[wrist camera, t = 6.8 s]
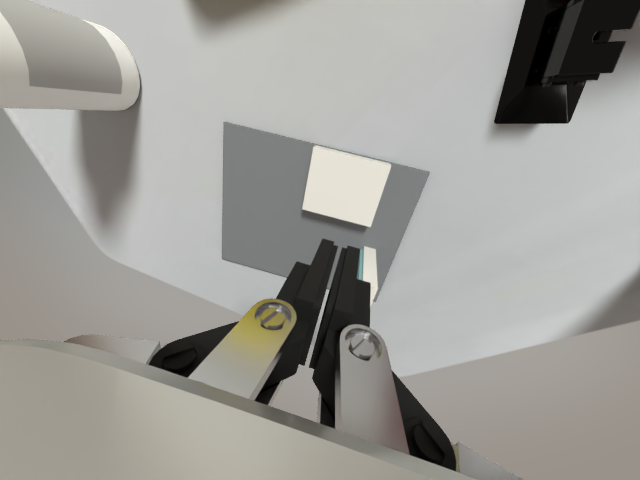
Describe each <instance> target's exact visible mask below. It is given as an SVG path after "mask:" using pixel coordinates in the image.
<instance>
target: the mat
mask: <svg viewBox="0 0 640 480" xmlns="http://www.w3.org/2000/svg"><path fill="white" fill-rule="evenodd" d="M316 145H317V144H313V143H309V142H305V141H301V140H297V139H293V138H289V137H285V136H281V135H277V134H273V133H269V132H264V131H260V130H256V129H252V128H248V127H244V126H240V125H236V124H232V123H228V122H224V135H223V213H222V259H225V260H228V261H232V262H235V263H239V264H243V265H246V266H250V267H253V268H257V269H260V270H264V271H267V272H271V273H275V274H278V275H282V276H285V277H288V276H289V274H290V272H291V270H292V269H293V267H294V265H295V263H296V262H297V261H298V262H301V263H305V264H308V265H311V263H312V261H313V259H314V256H315V254H316V252H317V250H318V247H319V245H320V243H321V240H322V238H323V239H327V240H330V241H334V245H336V246H338V249H337V253H336V256H335V260H334V263H333V267H332V270H331V274H330V278H329V281H328V285H327V288H328V289H330V287H331V284H332V280H333V277H334V274H335V270H336V267H337V263H338V260H339V256H340V253H341V249H342V247H343V248H347V246H352V247H355V248H359V249H363V248H364V246H366V247H369V248H373V249H376V264H377V282H378V290H377V292H376V295H375V297H374V300H373V301H374V302H376V300H377V297H378V295H379V292H380V290H381V288H382V285H383V283H384V281H385V278H386V276H387V273H388V271H389V269H390V266H391V264H392V261H393V259H394V257H395V254H396V252H397V250H398V247H399V245H400V242H401V240H402V238H403V235H404V233H405V231H406V228H407V226H408V223H409V221H410V219H411V216H412V214H413V212H414V209H415V207H416V204H417V202H418V200H419V197H420V195H421V193H422V190H423V188H424V185H425V183H426V181H427V178H428V176H429V173H430V172H428V171H423V170H419V169H415V168H411V167H407V166H403V165H399V164H395V163H391V162H387V161H383V160H379V159H375V158H370V157H366V156H362V155H358V154H354V153H350V152H346V151H342V150H338V149H334V148H330V147H326V146H322V145H317V146H321V147H325V148H329V149H333V150H337V151H342V152H346V153H350V154H354V155H358V156H362V157H366V158H370V159H374V160H378V161H382V162H386V163H390V164H391V169H390V172H389V175H388V178H387V181H386V183H385V186H384V189H383V192H382V195H381V198H380V201H379V204H378V207H377V210H376V213H375V216H374V219H373V222H372V225H371V227H368V226H364V225H360V224H356V223H352V222H349V221H345V220H341V219H337V218H333V217H330V216H326V215H322V214H318V213H314V212H311V211H307V210H303V209H302V207H303V201H304V196H305V190H306V185H307V179H308V174H309V168H310V163H311V157H312V152H313V147H314V146H316Z"/></svg>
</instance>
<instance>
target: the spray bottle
mask: <svg viewBox="0 0 640 480" xmlns="http://www.w3.org/2000/svg"><path fill="white" fill-rule="evenodd" d="M139 90H140V78H139V71H138V68H137V66H136V63H135V60H134V58H133V56H132V54H131V53H130V51H129V50H128V48H127V46H126V45H125V44H124V43H123V42H122V41H121V40H120V39H119V38H118V37H117V36H116V35H115V34H114V33H113V32H111V31H110V30H108V29H106V28H105V27H103V26H101V25H98V24H95V23H92V22H89V21H86V20H83V19H80V18H77V17H74V16H71V15H68V14H65V13H62V12H60V11H57V10H54V9H51V8H48V7H45V6H42V5H39V4H36V3H33V2H30V1H27V0H0V108H26V109H67V110H109V111H119V110H125V109H127V108H129V107H130V106H132V105H133V104H134V103H135V101H136V100H137V98H138V96H139Z"/></svg>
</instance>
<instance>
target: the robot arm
mask: <svg viewBox="0 0 640 480" xmlns="http://www.w3.org/2000/svg"><path fill="white" fill-rule="evenodd" d="M337 249H338V246H336V245H334V241H330V240H327V239H323V238H322V240H321V243H320V245H319V247H318V250H317V252H316V254H315V256H314V259H313V261H312V263H311V265H308V264H305V263H301V262H298V261H297V262H296V263H295V265H294V267H293V269H292V270H291V272H290V274H289V276H288V278H287V279H286V281H285V283H284V285H283V287H282V289H281V290H280V292H279V294H278V296H277V298H276V299H265V300H262V301H260V302H258V303H257V304H255V305H254V306H253V307H252V308H251V309H250V310H249V311H248V312H247V314H246V315H245V316H244V317H243V318H242V319H241V320H240V321H238V322H235V323H231V324H228V325H225V326H221V327H218V328H215V329H212V330H208V331H205V332H202V333H199V334H196V335H192V336H189V337H185V338H182V339H179V340H176V341H174V342H171V343H169V344H167V345H160V341H155V340H144V339H133V338H123V337H113V336H103V335H81V336H77V337H73V338H70V339H68V340H66V341H64V342H61V341H51V340H36V339H21V340H20V339H18V340H0V480H523V479H521V478H520V477H518V476H516V475H515V474H513V473H511V472H510V471H508V470H506V469H504V468H503V467H501V466H499V465H498V464H496V463H494V462H492V461H491V460H489V459H487V458H486V457H484V456H482V455H480V454H479V453H477V452H475V451H473V450H472V449H470V448H468V447H467V446H465V445H463V444H461V443H460V442H457V443H456V444H453V443H452V442H450V441H449V439H448V437H447V436H446V434H445V433H444V432H443V430H442V429H441V428H440V426H439V425H438V424H437V423H436V422H435V421H434V419H433V418H432V417H431V416H430V415H429V414H428V412H427V411H426V410H425V409H424V408H423V407H422V405H421V404H420V403H419V402H418V401H417V399H416V398H415V397H414V396H413V395H412V393H411V392H410V391H409V390H408V389H407V388H406V387H405V385H404V384H403V383H402V382H401V381H400V379H399V378H398V377H397V376H396V375H395V374H394V372H393V371H392V370H391V365H390V361H389V356H388V351H387V347H386V345H385V342H384V340H383V339H382V338H381V336H380V335H379V334H378V333H377V332H376V331H374V330H373V329H371V328H370V294H371V283H370V282H366V281H363V280H359V279H357V271H358V262H359V254H360V249H359V248H355V247H352V246H347V248H343V247H342V249H341V253H340V256H339V260H338V263H337V267H336V270H335V274H334V277H333V280H332V284H331V287H330V291H329V294H328V298H327V301H326V305H325V309H324V313H323V316H322V320H321V324H320V328H319V331H318V335H317V339H316V343H315V346H314V350H313V354H312V358H311V362H310V365H309V367H310V368H313V369H314V373H313V378H312V379H313V381H314V383H315V385H316V386H317V388H318V390H319V392H320V393H319V398H318V411H317V422H313V421H311V420H308V419H305V418H302V417H299V416H297V415H294V414H291V413H288V412H285V411H282V410H279V409H276V408H273V407H271V404H272V402H273V400H274V399H275V397H276V395H277V393H278V391H279V389H280V387H281V384H282V382H283V380H284V379H286V378H288V377H290V376H292V375H294V374H295V373H296V371H297V368H298V365H299V364H301V365H305V361H306V358H307V354H308V351H309V348H310V344H311V341H312V337H313V334H314V330H315V327H316V323H317V320H318V316H319V313H320V309H321V306H322V302H323V299H324V295H325V292H326V288H327V285H328V281H329V278H330V274H331V270H332V267H333V263H334V260H335V256H336V253H337Z"/></svg>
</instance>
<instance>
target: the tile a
mask: <svg viewBox="0 0 640 480" xmlns="http://www.w3.org/2000/svg"><path fill="white" fill-rule="evenodd" d="M390 169H391V164H390V163H386V162H382V161H378V160H374V159H370V158H366V157H362V156H358V155H354V154H350V153H346V152H342V151H337V150H333V149H329V148H325V147H321V146H317V145H316V146H314V147H313V152H312V157H311V163H310V168H309V174H308V179H307V185H306V190H305V196H304V201H303V207H302V209H303V210H307V211H311V212H314V213H318V214H322V215H326V216H330V217H333V218H337V219H341V220H345V221H349V222H352V223H356V224H360V225H364V226H368V227H371V225H372V222H373V219H374V216H375V213H376V210H377V207H378V204H379V201H380V198H381V195H382V192H383V189H384V186H385V183H386V181H387V178H388V175H389V172H390Z"/></svg>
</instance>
